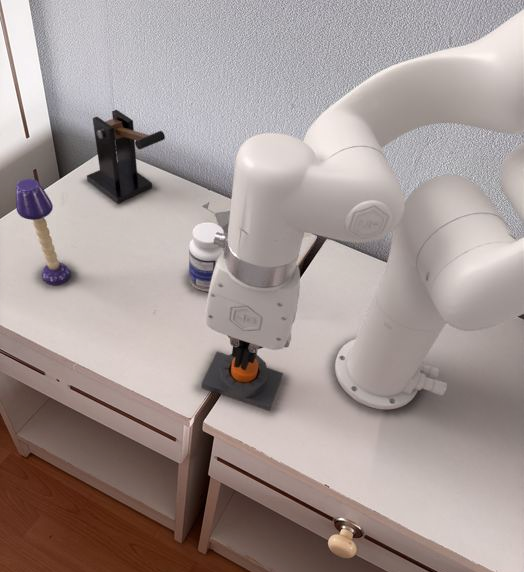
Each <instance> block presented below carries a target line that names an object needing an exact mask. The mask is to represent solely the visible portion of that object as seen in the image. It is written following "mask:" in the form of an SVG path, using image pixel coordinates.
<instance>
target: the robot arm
mask: <svg viewBox="0 0 524 572" xmlns="http://www.w3.org/2000/svg"><path fill="white" fill-rule="evenodd" d="M437 124H438V125H439V124H457V125H464V126H467V127H473V128H478V129H481V130H482V129H483V130H486V131H492V132H495V133H500V134H501V133H502V134H506V135H520V134H524V8H523V9H522V10H520V11H519V12H517V13H516V14H514V15H513V16H511V17H510V18H508V19H507V20H506V21H504V22H503V23H502V24H501V25H499V26H498V27H496V28H495V29H494V30H492V31H491V32H489V33H488V34H486V35H484V36H483V37H481V38H479V39H477V40H474V41H473V42H471V43H467V44H463V45H459V46H455V47H449V48H445V49H441V50H438V51H435V52H431V53H427V54H425V55H421V56H418V57H414V58H411V59H407V60H404V61H401V62H399V63H396V64H393V65H391V66H388V67H386V68H384V69H382V70H381V71H378V72H377V73H375V74H373V75H371V76H370V77H368V78H367V79H365V80H364V81H362V82H361V83H360V84H358V85H357V86H355V87H354V88H352V89H351V90H350V91H348V92H347V93H346V94H344V95H343V96H342V97H341V98H339V99H338V100H337V101H335V102H334V103H333V104H331V105H330V106H329V107H327V109H325V110H324V111H323V112H322V113H321V114H320V115H319V116H318V117H317V118H316V119H315V120H314V122H313V123H311V125H310V127H309V128H308V130H307V131H306V133H305V135H304V138H303V140H301V139H299V138H298V137H295V136H293V135H289V134H286V133H278V132H266V133H265V132H264V133H259V134H255V135H252V136H251V137H249V138H247V139H246V140H245V141H244V142H243V143H242V144H241V145H240V147H239V149H238V151H237V152H236V157H235V162H234V170H233V179H232V190H231V200H230V201H231V202H230V210H229V211H230V218H229V227H228V233H223V234H222V233H219V232H217V233H216V234H215V237H214V244H215V245H218V246H220V248H223V253H222V254H221V255H220V257H219V258H218V260H217V263H216V265H215V268H214V272H213V275H212V279H211V283H210V288H209V291H208V293H207V300H206V305H205V312H204V322H205V325H206V326H207V327H208V328H210V329H211V330H212V331H215V332H217V333H219V334H222V335H225V336H227V337H228V338H229V344H230V345H231V346H232V350H231V354H232V357H235V363H234V367H236V368H238V367H240V365H241V368H242V370H246V368H247V366H248V363H249V362H250V363H254V361H255V358H256V355H258V350H260V349H269V350H272V351H273V350H274V351H279V350H283V349H284V348H285V349H287V348H289V347H290V345H291V342H292V329H293V325H294V322H295V319H296V316H297V312H298V311H297V310H298V306H299V297H300V289H301V271H300V267H299V266H298V259H299V255H300V251H301V247H302V243H303V239H304V235H305V233H307V234H311V235H316V236H319V237H325V238H328V239H332V240H336V241H342V242H347V243H356V244H359V243H370V242H374V241H378V240H380V239H382V238H384V237H386V236H388V235H389V234H391V233H392V232H393V235H392V239H391V245H390V250H389V254H388V258H387V261H386V265H385V267H384V271H383V273H382V276H381V278H380V280H379V283H378V284H377V287H376V290H375V291H374V294H373V297H372V299H371V302H370V304H369V307H368V309H367V311H366V314H365V316H364V319H363V320H362V324H361V325H360V328H359V331H358V333H357V335H356V338H353V339H351V340H349V341H348V342H346V343H345V344H344V345H342V347H341V348H340V349H339V351H338V354H337V355H336V358H335V363H334V370H335V376H336V379H337V381H338V383H339V384H340V385H339V386H341V388H342V389H343V390H344V391H345V393H346V394H347V395H349V396H350V397H351V398H352V399H353V400H354V401H356V402H358V403H360V404H361V405H363V406H367V407H369V408H373V409H377V410H395V409H399V408H402V407H404V406H405V405H407V404H409V403H410V402H411V401H412V400H414V398H415V396H416V395H417V393H418V391H421V390H426V391H428V392H429V393H431V394H435V395H439V396H441V397H442V396H444V395H445V394H446V391H447V387H448V383H447V382H445V381H441V380H439V379H436V378H438V377H439V374H440V368H438V367H434V366H431V365H426V364H425V362H424V360H425V358H426V357H427V356H428V354H429V352H430V350H431V349H432V347H433V346H434V344H435V343H436V341H437V339H438V337H439V336H440V334H441V333H442V332H443V330H444V328H445V326H446V325H449V326H450V327H452V328H454V329H456V330H459V331H465V332H476V331H482V330H487V329H489V328H493V327H496V326H499V325H501V324H504V323H506V322H508V321H511V320H514V319H516V318H518V317H520V316H522V315H524V236H523V237H521V238H519V239H517V237H516V236H515V234H514V233H513V231H512V230H511V229H510V228H509V225H508V223H507V222H506V220H505V219H504V217H503V216H502V215H501V213H500V211H499V210H498V208H497V207H496V205H495V204H494V203H493V201H492V200H491V198H490V197H489V196H488V195H487V193H486V192H485V191H484V190H483V189H482V188H481V187H480V186H479V185H478V184H476V183H475V182H473V180H470V179H469V178H466V177H464V176H461V175H457V174H442V175H437V176H434V177H431V178H429V179H427V180H425V181H424V182H422V183H421V184H419V185H418V186H417V187H416V188H414V190H413V191H412V192H410V194H409V195H408V196H407V198H406V199H405V197H404V191H403V189H402V187H401V183H400V181H399V180H398V178H397V176H396V174H395V172H394V171H393V169H392V166H391V164H390V163H389V160H388V158H387V156H386V154H385V152H384V151H383V148H384V147H386V146H387V145H388V144H390V143H392V142H394V141H395V140H396V139H398V138H400V137H402V136H404V135H405V134H407V133H410V132H412V131H414V130H417V129H420V128H422V127H426V126H432V125H437ZM498 178H499V184H500V187H501V190H502V192H503V194H504V196H505V198H506V200H507V202H508V203H509V204H510V206H511V208H512V209H513V212H515V214H516V215H517V216H518V218H519V220H520V221H521V222H522V223H523V224H524V141H522V142H521V143H520V144H518V145H517V146H516V147H514V148H513V149H512V150H511V151H509V153H508V154H507V155H506V157H505V158H504V160H503V162H502V163H501V166H500V168H499V176H498ZM426 375H427V376H429V377H427V376H426ZM430 377H432V378H430ZM433 378H434V379H433Z"/></svg>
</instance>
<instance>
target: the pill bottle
mask: <svg viewBox="0 0 524 572" xmlns="http://www.w3.org/2000/svg"><path fill="white" fill-rule="evenodd" d="M217 232H219V233H222V234H223V233H224V231H223V229H222V228H221V227H220V226H219V225H218V223H215V222H209V221H208V222H207V221H206V222H201V223H198V224H197V225H195V226H194V227H193V230H192V239H191V240H190V241H189V244H188V279H189V282H190V284H191V285H192V286H193V287H194V289H196V290H199V291H202V292H209V288H210V283H211V279H212V275H213V272H214V268H215V265H216V263H217V260H218V258H219V257H220V255H221V254H222V253H223V248H220V246H218V245H215V244H214V237H215V234H216V233H217Z"/></svg>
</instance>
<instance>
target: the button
mask: <svg viewBox="0 0 524 572" xmlns="http://www.w3.org/2000/svg"><path fill="white" fill-rule="evenodd" d="M234 363H235V358H234V359H233V361H232V366H231V374H232V376H233V378H234V379H235V380H237V381H239V382H242V383H248V382H251V381H253V380H254V379H255V378H256V376H257V372H258V362H257V360H256V359H255V361H254V363H250V362H249V363H248V366H247V368H246V370H242V368H241V365H240V367H238V368H236V367H234Z"/></svg>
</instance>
